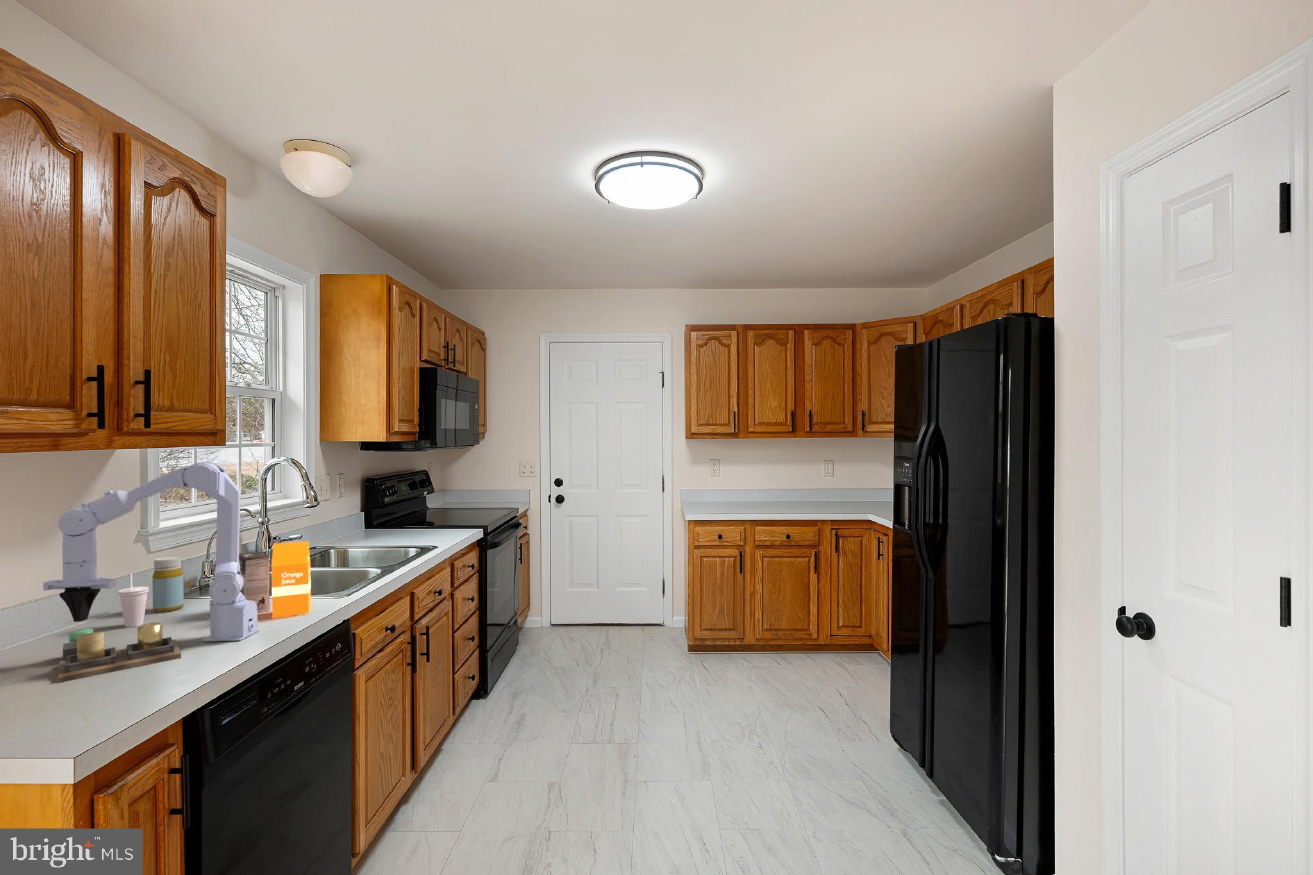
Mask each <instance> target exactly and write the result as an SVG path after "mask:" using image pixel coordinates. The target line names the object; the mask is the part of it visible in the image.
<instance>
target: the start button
mask: <svg viewBox="0 0 1313 875" xmlns="http://www.w3.org/2000/svg"><path fill="white" fill-rule="evenodd" d="M89 633H94V629H93V628H84V629H77V630H73V631H70V632H69V633H68V640H69V641H68V643H70V642H77V637H78V636H81V635H84V634H89Z"/></svg>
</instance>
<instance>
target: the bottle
mask: <svg viewBox="0 0 1313 875" xmlns="http://www.w3.org/2000/svg"><path fill="white" fill-rule="evenodd" d="M153 567H154V568H153V570H154V571H153V574H152V578H151V579H152V580H151V581H152V582H151V583H152V610H153V611H154V612H155V613H159V612H161V613H168V611H170V612H175V611H177V610H181V609H182V608H183V607H184V603H185V602H184V601H185V600H184V572H183V570H182V557H181V556H179V555H176V556H175V555H174V556H173V555H172V556H171V555H170V556H164V557H163V556H162V557H158V558H154V560H153Z"/></svg>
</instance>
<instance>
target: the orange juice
mask: <svg viewBox="0 0 1313 875" xmlns="http://www.w3.org/2000/svg"><path fill="white" fill-rule="evenodd" d="M271 559H272V560H271V599H272V600H271V602H272V604H271V606H272V609H271V610H272V611H271V612H272V619H273V618H274V619H280V618H279V617H282V618H291V617H294V616H293V615H299V616H302V615H301V614H305V613H309V614H310V612H311V609H312V594H311V593H312V592H311V591H312V590H311V589H312V584H311V583H312V580H311V578H312V577H311V556H310V545H309V540H308V541H305V540H304V541H293V542H282V543H281V542H280V543H273V545H272V558H271ZM310 608H311V609H310ZM309 611H310V612H309ZM290 616H291V617H290Z"/></svg>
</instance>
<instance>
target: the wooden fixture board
mask: <svg viewBox="0 0 1313 875" xmlns="http://www.w3.org/2000/svg"><path fill="white" fill-rule="evenodd" d="M176 658H177V659H181V658H182V652H181V651H180V646H179V645H178V644H177V641H176V639H173V638H172V636H169V637H168V636H167V637H163V646H162V647H157V648H151V649H146V650H141V651H138V642H136V643H130V644H126V648H123V649H118V650H116V647H115V646H114V647H108V648H105V632H101V631H100V632H99V631H98V632H93V633H89V634H84V635H81V636H78V637H77V654H75V655H69V656H66V660H64V661H63V660H60V661H59V666H58V667H59V668H58V675H57V683H62V682H68V681H74V680H77V679H83V678H87V677H88V678H89V677H93V676H97V675H103V674H107V673H106V672H108V673H112V672H117V671H116V670H118V671H122V669H123V670H127V669H128V670H129V669H131V668H132V667H133V668H137V667H141V666H146V665H151V663H152V664H157V663H161V661H162V662H166V661H167V662H168V661H171V660H176Z"/></svg>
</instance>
